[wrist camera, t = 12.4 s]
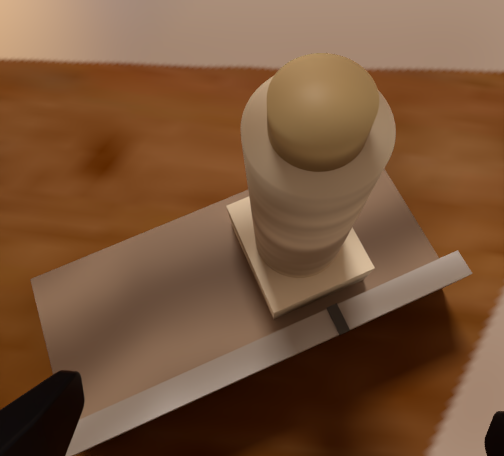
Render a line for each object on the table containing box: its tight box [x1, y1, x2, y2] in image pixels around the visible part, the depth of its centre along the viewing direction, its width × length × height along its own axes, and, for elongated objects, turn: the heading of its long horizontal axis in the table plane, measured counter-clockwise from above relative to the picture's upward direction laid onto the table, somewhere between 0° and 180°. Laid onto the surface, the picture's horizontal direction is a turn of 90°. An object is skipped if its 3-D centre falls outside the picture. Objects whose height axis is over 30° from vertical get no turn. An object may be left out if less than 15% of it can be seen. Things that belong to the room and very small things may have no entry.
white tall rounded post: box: [226, 53, 396, 320], centre depth 15 cm, size 6×5×13 cm
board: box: [31, 169, 472, 456], centre depth 21 cm, size 9×20×4 cm, turn 113°
